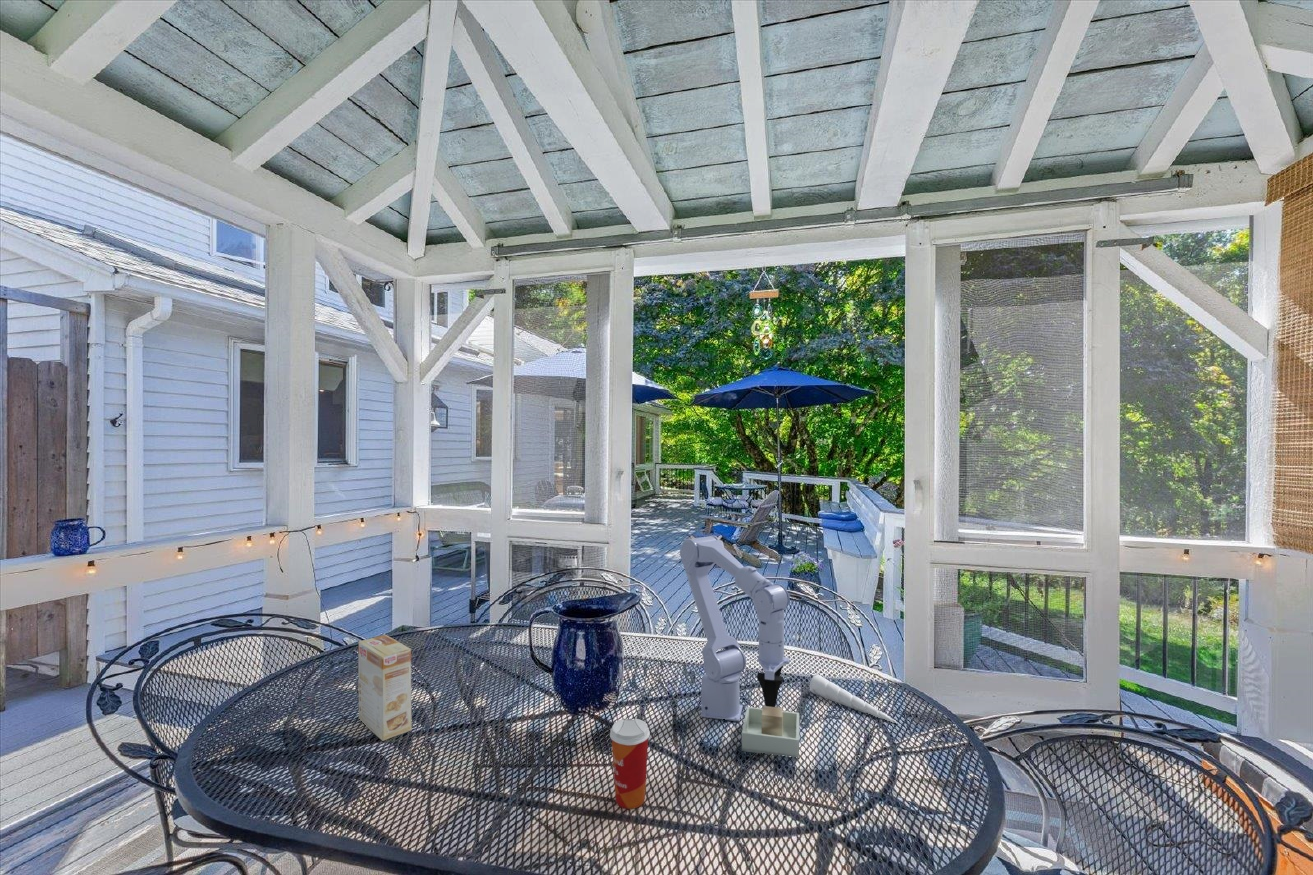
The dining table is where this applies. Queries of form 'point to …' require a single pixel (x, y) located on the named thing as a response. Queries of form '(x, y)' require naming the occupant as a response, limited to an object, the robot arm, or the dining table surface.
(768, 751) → the bin
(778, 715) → the birch block
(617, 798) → the paper cup
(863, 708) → the unicorn horn
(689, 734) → the dining table surface
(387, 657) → the coffeecake box
